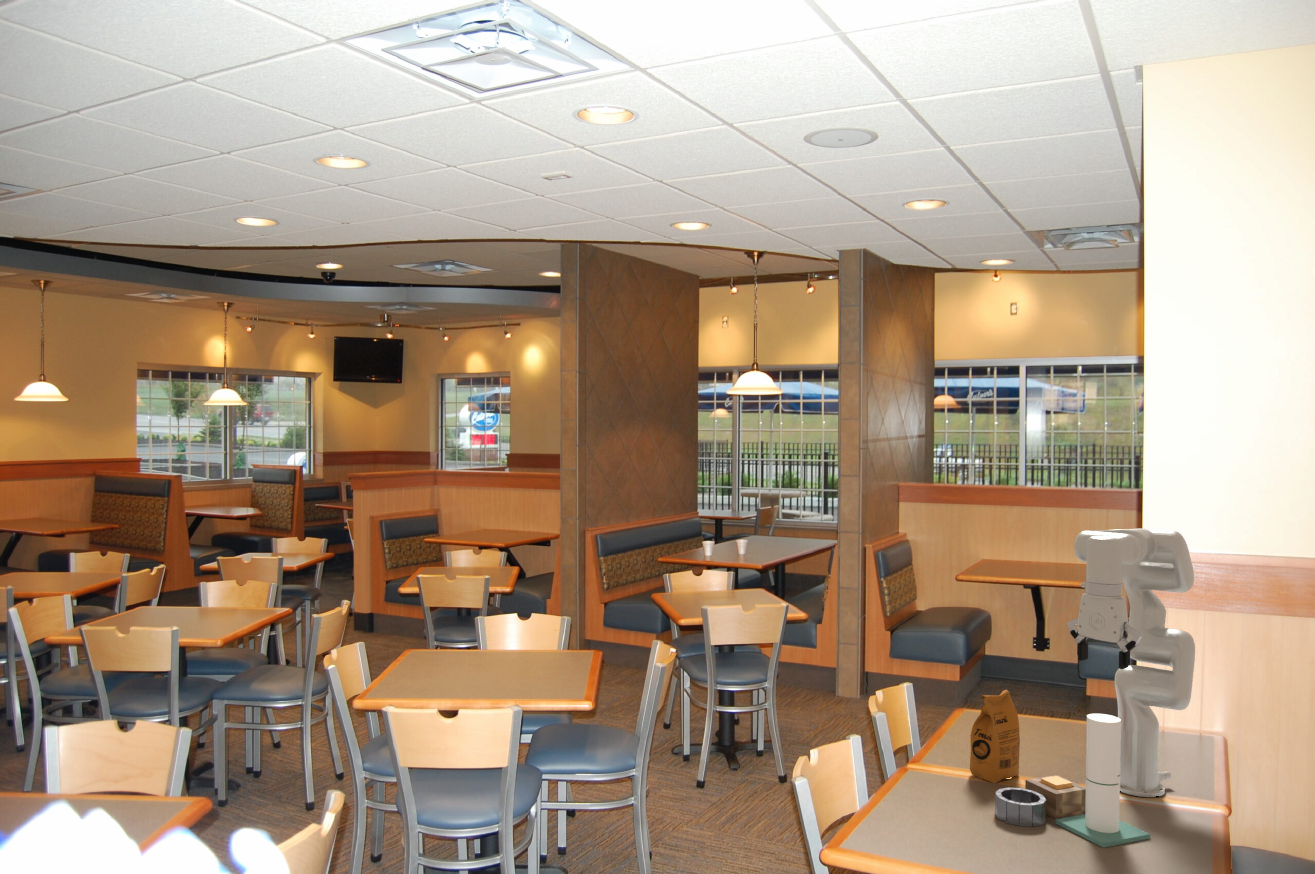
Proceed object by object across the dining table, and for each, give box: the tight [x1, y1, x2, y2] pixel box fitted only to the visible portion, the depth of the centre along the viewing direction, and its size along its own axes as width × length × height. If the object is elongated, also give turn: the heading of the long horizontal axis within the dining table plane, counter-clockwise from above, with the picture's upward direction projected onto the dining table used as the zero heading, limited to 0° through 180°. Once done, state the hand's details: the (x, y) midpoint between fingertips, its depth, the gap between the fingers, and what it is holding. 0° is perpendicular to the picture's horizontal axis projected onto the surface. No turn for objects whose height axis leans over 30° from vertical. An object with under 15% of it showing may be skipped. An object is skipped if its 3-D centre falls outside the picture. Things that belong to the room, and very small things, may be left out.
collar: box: [994, 787, 1047, 828], centre depth 232 cm, size 11×11×5 cm
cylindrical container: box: [1085, 713, 1121, 833], centre depth 224 cm, size 7×7×25 cm
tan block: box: [1040, 775, 1073, 790], centre depth 237 cm, size 5×5×6 cm
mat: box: [1055, 814, 1151, 848], centre depth 224 cm, size 14×14×1 cm
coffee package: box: [969, 689, 1021, 784], centre depth 260 cm, size 10×12×22 cm
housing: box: [1024, 774, 1086, 820], centre depth 237 cm, size 10×10×6 cm
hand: (1103, 663), depth 225 cm, fingers open, 9 cm apart
